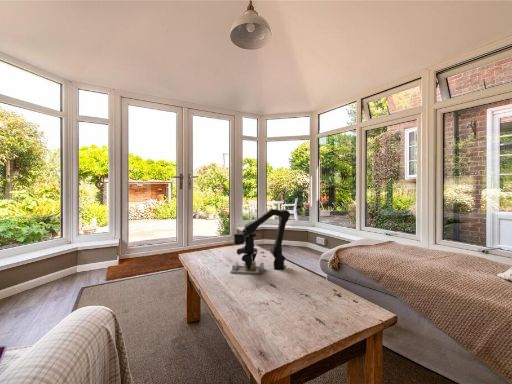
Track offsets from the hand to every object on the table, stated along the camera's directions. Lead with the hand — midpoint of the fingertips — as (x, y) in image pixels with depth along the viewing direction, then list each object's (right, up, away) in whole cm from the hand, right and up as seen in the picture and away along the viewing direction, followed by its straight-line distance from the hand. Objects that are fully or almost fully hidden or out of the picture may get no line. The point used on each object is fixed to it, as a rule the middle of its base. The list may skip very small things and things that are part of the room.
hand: (250, 267), depth 157 cm
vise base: (-2, -3, +1) cm, 3 cm away
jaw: (-10, -1, +2) cm, 10 cm away
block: (0, -2, 0) cm, 2 cm away
